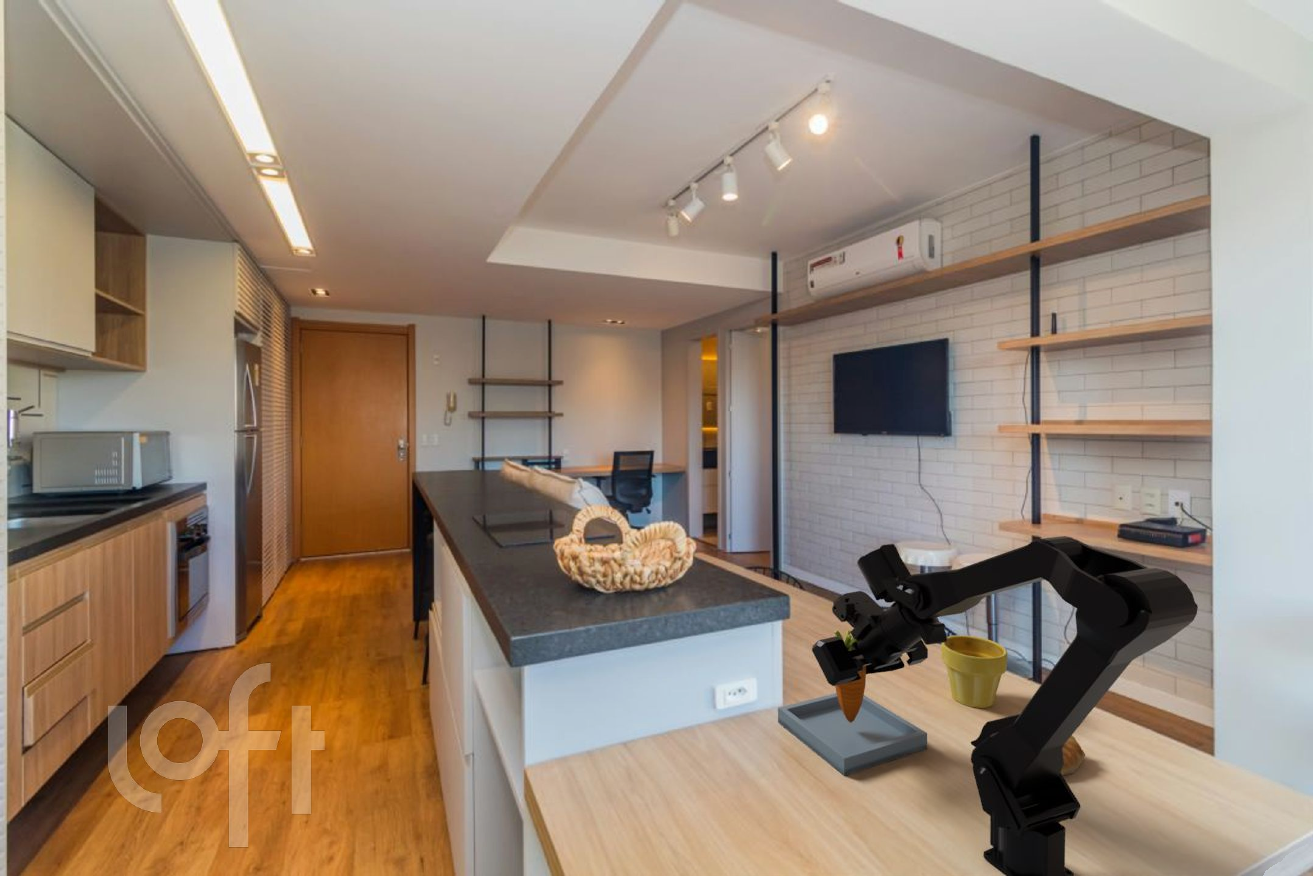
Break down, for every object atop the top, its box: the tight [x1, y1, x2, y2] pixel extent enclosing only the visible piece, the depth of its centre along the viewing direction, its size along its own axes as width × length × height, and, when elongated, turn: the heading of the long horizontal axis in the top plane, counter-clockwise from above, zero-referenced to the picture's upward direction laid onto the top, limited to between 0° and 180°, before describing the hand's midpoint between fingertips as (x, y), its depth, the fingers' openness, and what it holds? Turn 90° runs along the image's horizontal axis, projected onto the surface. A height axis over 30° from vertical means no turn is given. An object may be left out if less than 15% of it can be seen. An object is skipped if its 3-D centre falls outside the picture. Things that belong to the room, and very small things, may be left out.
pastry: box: [1060, 734, 1086, 777], centre depth 87 cm, size 9×7×4 cm
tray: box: [777, 693, 928, 777], centre depth 95 cm, size 16×16×2 cm
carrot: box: [834, 629, 867, 723], centre depth 94 cm, size 5×5×15 cm
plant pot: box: [940, 634, 1008, 709], centre depth 106 cm, size 10×10×10 cm
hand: (843, 675), depth 96 cm, fingers closed on carrot, 5 cm apart
